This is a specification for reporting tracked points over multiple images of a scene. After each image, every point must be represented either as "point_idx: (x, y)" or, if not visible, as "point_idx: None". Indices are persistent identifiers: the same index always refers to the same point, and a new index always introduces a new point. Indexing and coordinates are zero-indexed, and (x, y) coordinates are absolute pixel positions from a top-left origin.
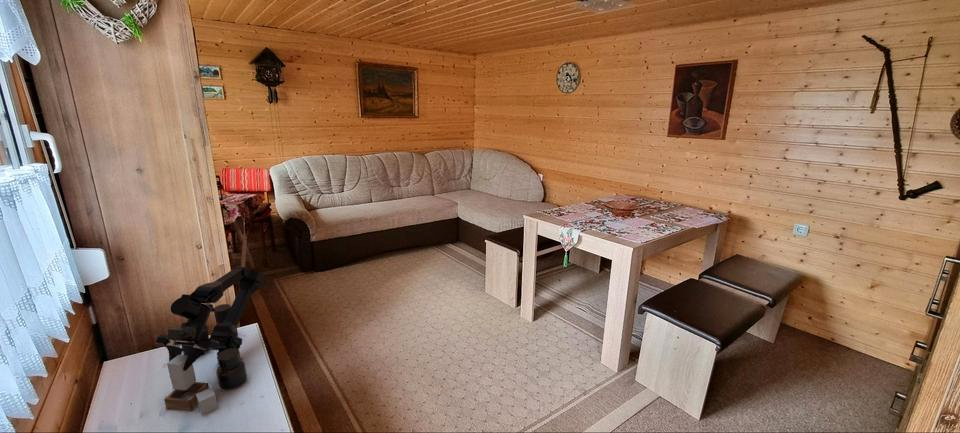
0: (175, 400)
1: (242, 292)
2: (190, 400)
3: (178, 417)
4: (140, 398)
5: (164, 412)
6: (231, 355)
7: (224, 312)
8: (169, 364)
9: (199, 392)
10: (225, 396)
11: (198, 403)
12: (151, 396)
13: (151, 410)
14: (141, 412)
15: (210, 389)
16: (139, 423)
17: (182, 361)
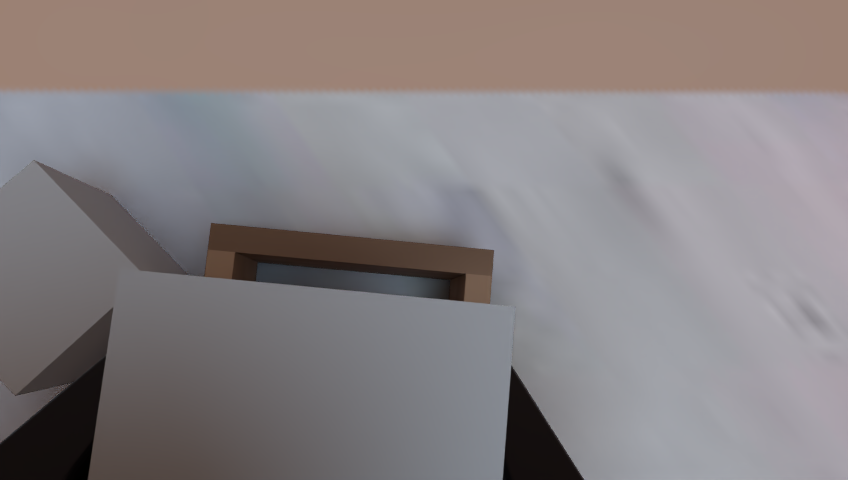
0: (367, 239)
1: None
2: (211, 245)
3: (303, 166)
4: (787, 378)
5: (462, 220)
6: None
7: None
8: (441, 299)
9: None
10: None
11: (138, 243)
12: (714, 407)
13: (587, 241)
14: (651, 217)
15: (11, 360)
16: (574, 102)
17: (150, 424)
